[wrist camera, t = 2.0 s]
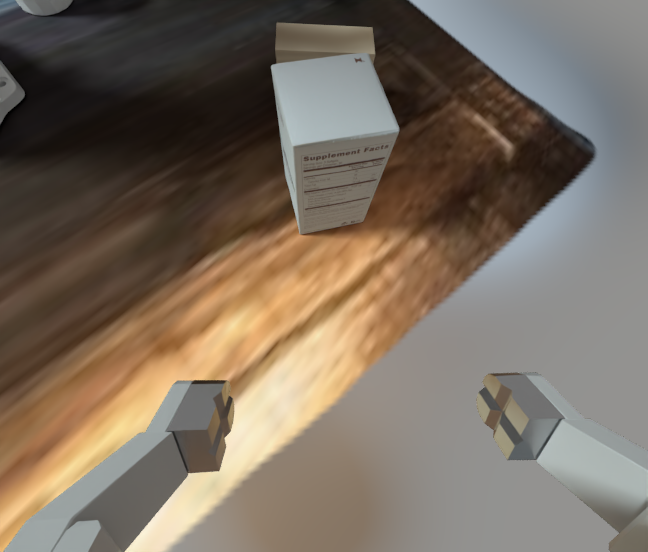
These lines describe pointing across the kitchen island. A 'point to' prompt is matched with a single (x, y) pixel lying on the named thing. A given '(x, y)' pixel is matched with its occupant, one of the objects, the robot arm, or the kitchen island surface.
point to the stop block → (321, 41)
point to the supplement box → (332, 137)
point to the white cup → (44, 6)
